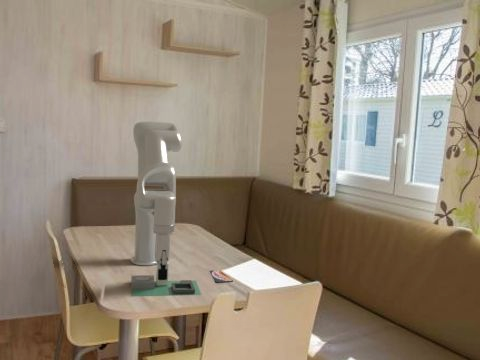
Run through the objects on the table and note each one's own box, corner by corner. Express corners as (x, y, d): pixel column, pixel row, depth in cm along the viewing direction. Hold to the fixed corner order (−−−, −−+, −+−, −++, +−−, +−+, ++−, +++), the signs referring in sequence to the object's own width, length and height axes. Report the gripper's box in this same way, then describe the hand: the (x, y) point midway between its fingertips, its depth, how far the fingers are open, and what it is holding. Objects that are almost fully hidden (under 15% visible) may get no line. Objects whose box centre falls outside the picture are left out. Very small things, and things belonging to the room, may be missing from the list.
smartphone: (219, 269, 209) (234, 280, 195) (219, 271, 209) (233, 283, 195) (203, 270, 205) (216, 282, 192) (202, 272, 206) (216, 284, 192)
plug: (156, 281, 185) (156, 260, 184) (166, 281, 186) (167, 260, 185) (156, 285, 181) (157, 263, 180) (167, 285, 182) (168, 263, 181)
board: (131, 284, 185) (131, 273, 185) (195, 283, 190) (196, 273, 190) (131, 299, 170) (131, 288, 169) (201, 298, 175) (201, 287, 174)
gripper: (152, 223, 189) (150, 270, 191) (154, 233, 172) (152, 285, 175) (172, 223, 190) (170, 270, 192) (176, 234, 174) (174, 285, 176)
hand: (162, 277), depth 183 cm, fingers closed on plug, 4 cm apart
